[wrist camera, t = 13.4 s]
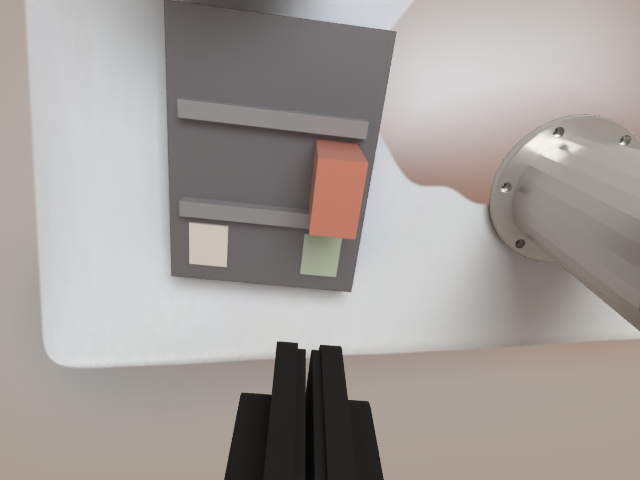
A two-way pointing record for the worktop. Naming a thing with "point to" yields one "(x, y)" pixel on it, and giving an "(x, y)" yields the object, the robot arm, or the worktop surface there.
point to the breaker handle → (336, 189)
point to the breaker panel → (264, 139)
